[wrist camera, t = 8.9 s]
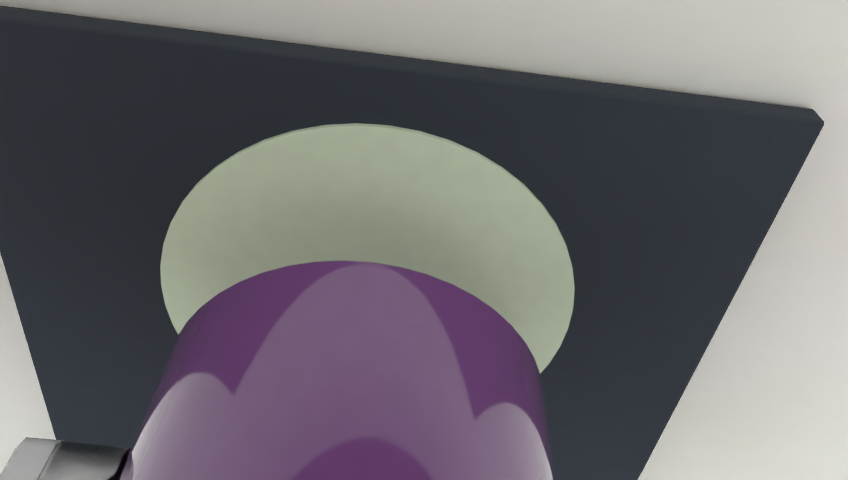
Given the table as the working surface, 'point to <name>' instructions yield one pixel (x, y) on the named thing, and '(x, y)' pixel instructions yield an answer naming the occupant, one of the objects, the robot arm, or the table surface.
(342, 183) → the mat
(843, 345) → the table surface
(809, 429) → the table surface
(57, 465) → the robot arm
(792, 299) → the table surface
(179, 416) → the purple round cup
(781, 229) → the table surface
